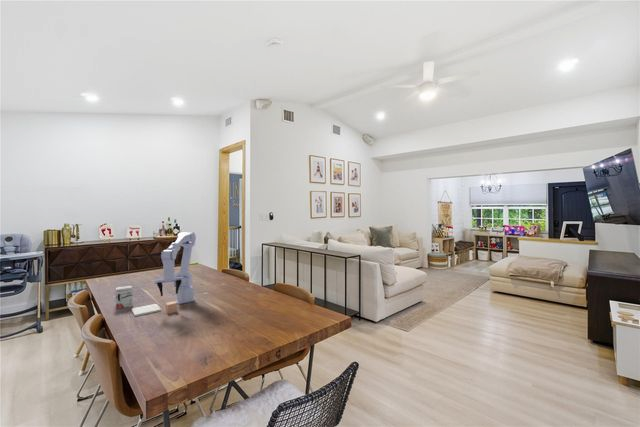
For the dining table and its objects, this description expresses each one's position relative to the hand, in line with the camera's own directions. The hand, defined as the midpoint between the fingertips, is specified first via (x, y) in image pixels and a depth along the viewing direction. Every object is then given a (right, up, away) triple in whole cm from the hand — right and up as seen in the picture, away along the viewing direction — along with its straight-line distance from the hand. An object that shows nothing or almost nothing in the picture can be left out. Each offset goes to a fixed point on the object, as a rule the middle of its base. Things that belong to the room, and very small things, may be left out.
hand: (169, 294), depth 169 cm
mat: (-15, -10, +3) cm, 18 cm away
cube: (+1, -10, +1) cm, 10 cm away
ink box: (-32, -10, +10) cm, 36 cm away
